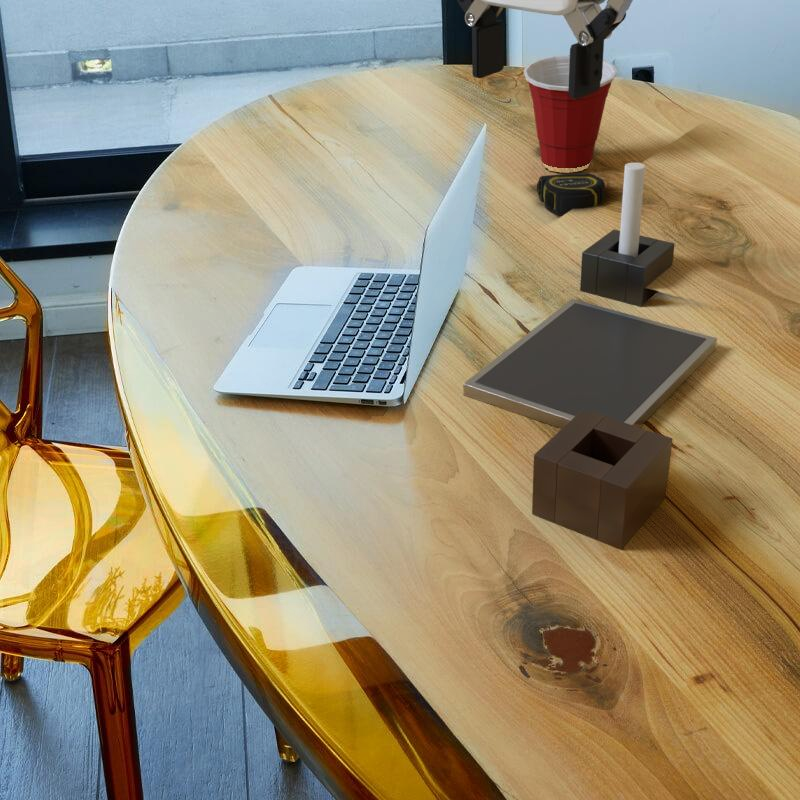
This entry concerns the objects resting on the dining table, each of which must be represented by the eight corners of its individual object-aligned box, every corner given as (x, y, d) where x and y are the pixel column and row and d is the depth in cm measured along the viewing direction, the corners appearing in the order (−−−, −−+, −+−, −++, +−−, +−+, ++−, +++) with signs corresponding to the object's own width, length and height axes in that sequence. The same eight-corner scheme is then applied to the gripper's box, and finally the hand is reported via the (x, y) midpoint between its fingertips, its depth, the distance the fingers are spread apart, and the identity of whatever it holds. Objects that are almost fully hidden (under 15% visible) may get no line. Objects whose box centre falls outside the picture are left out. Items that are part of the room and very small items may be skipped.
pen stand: (666, 497, 75) (672, 438, 72) (621, 550, 71) (627, 488, 68) (579, 466, 79) (582, 408, 76) (531, 514, 74) (533, 454, 71)
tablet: (715, 349, 92) (717, 337, 92) (619, 448, 80) (620, 435, 80) (571, 309, 100) (572, 298, 99) (463, 395, 88) (463, 382, 87)
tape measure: (595, 198, 123) (597, 166, 121) (610, 221, 117) (612, 188, 115) (536, 202, 122) (536, 171, 120) (547, 226, 116) (549, 192, 114)
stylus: (638, 284, 103) (649, 164, 97) (630, 291, 102) (639, 170, 96) (621, 280, 104) (630, 160, 98) (612, 287, 103) (621, 166, 97)
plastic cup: (517, 181, 128) (519, 79, 122) (525, 150, 137) (527, 54, 131) (610, 183, 126) (617, 80, 120) (611, 152, 135) (618, 55, 129)
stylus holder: (670, 281, 104) (674, 243, 102) (641, 307, 100) (644, 267, 97) (610, 266, 107) (613, 229, 105) (579, 290, 103) (581, 252, 101)
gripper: (674, -161, 73) (654, 91, 82) (482, -166, 84) (483, 57, 93) (609, -149, 69) (595, 115, 78) (415, -156, 80) (423, 77, 89)
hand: (534, 83), depth 85 cm, fingers open, 9 cm apart
